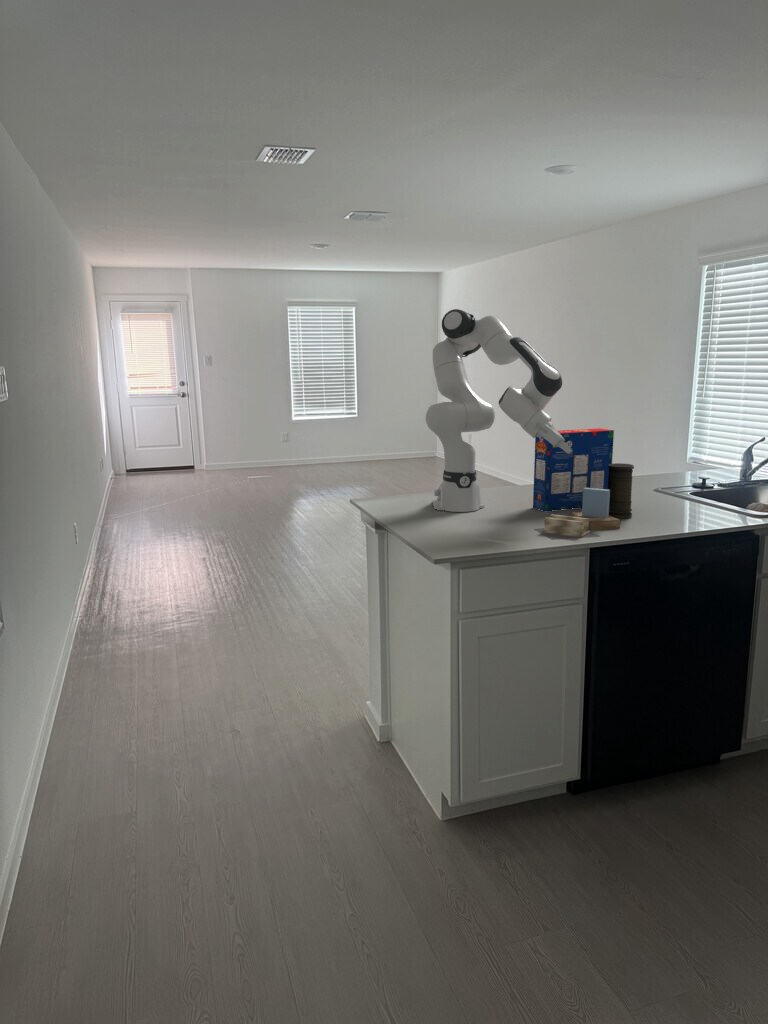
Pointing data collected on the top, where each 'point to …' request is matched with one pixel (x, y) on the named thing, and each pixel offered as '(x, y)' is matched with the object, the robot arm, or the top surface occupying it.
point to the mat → (558, 536)
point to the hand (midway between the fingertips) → (570, 452)
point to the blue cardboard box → (571, 468)
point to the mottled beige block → (566, 525)
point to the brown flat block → (599, 522)
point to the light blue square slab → (596, 502)
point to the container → (620, 490)
